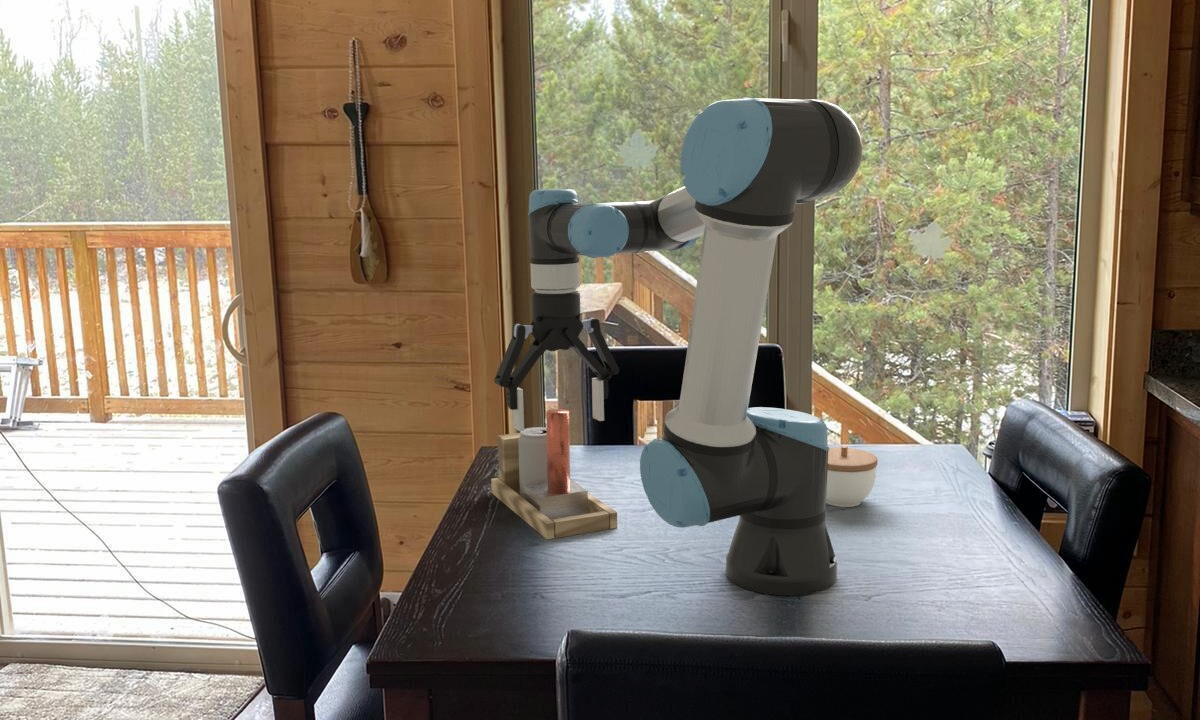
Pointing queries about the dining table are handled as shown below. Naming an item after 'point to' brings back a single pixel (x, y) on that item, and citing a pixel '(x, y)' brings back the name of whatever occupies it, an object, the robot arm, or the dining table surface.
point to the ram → (558, 474)
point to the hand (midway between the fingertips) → (559, 424)
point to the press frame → (510, 496)
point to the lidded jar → (849, 476)
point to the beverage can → (532, 457)
